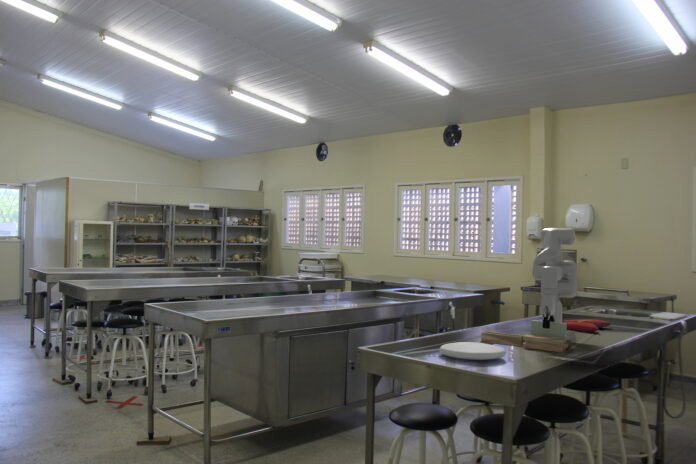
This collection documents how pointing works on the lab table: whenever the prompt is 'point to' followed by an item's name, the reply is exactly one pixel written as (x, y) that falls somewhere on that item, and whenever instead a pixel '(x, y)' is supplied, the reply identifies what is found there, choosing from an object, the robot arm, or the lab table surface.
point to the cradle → (502, 338)
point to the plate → (472, 351)
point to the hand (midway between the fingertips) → (548, 327)
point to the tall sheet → (554, 331)
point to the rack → (547, 343)
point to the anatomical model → (586, 325)
